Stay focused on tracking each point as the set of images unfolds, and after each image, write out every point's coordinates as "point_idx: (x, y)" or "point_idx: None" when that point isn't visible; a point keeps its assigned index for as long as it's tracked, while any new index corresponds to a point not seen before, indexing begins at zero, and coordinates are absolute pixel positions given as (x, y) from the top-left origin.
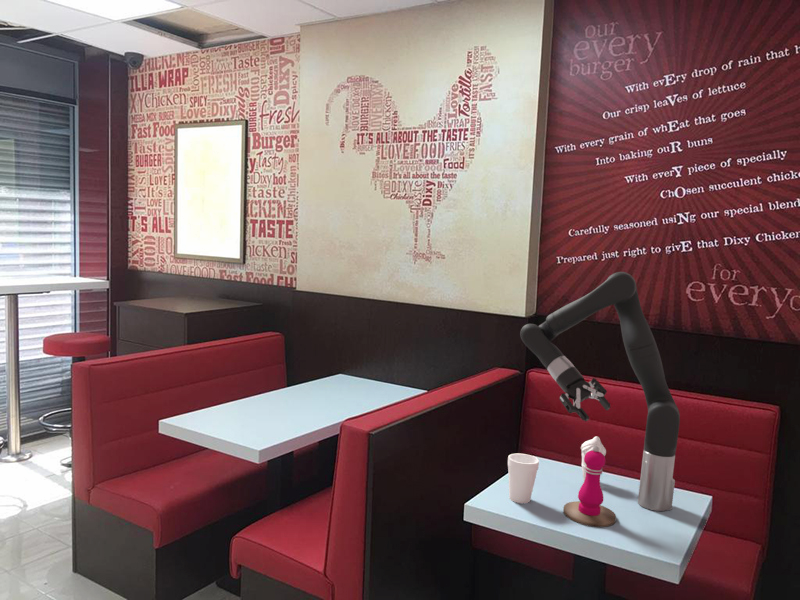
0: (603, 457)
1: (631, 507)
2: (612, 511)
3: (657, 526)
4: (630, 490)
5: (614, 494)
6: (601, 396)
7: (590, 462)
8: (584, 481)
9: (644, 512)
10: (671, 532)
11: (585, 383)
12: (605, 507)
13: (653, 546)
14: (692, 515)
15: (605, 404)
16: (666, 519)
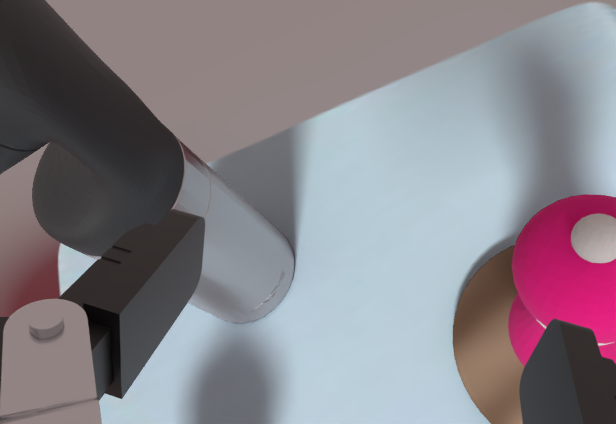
0: (574, 196)
1: (327, 301)
2: (464, 291)
3: (398, 166)
4: (179, 398)
5: (265, 414)
6: (88, 318)
7: None
8: (611, 346)
9: (329, 252)
10: (400, 123)
11: None
12: (456, 330)
13: (556, 82)
14: (224, 171)
15: (176, 264)
16: (319, 186)
